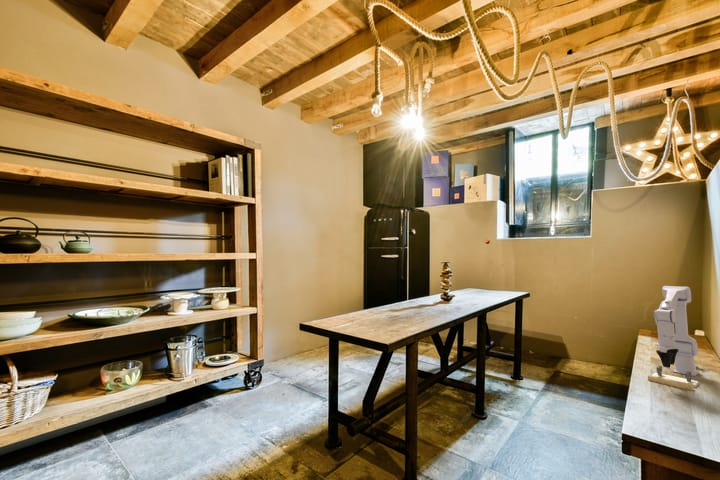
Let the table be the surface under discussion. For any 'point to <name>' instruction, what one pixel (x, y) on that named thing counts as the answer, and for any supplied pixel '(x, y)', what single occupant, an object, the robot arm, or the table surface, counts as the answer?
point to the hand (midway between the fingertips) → (668, 365)
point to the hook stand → (687, 380)
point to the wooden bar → (671, 382)
